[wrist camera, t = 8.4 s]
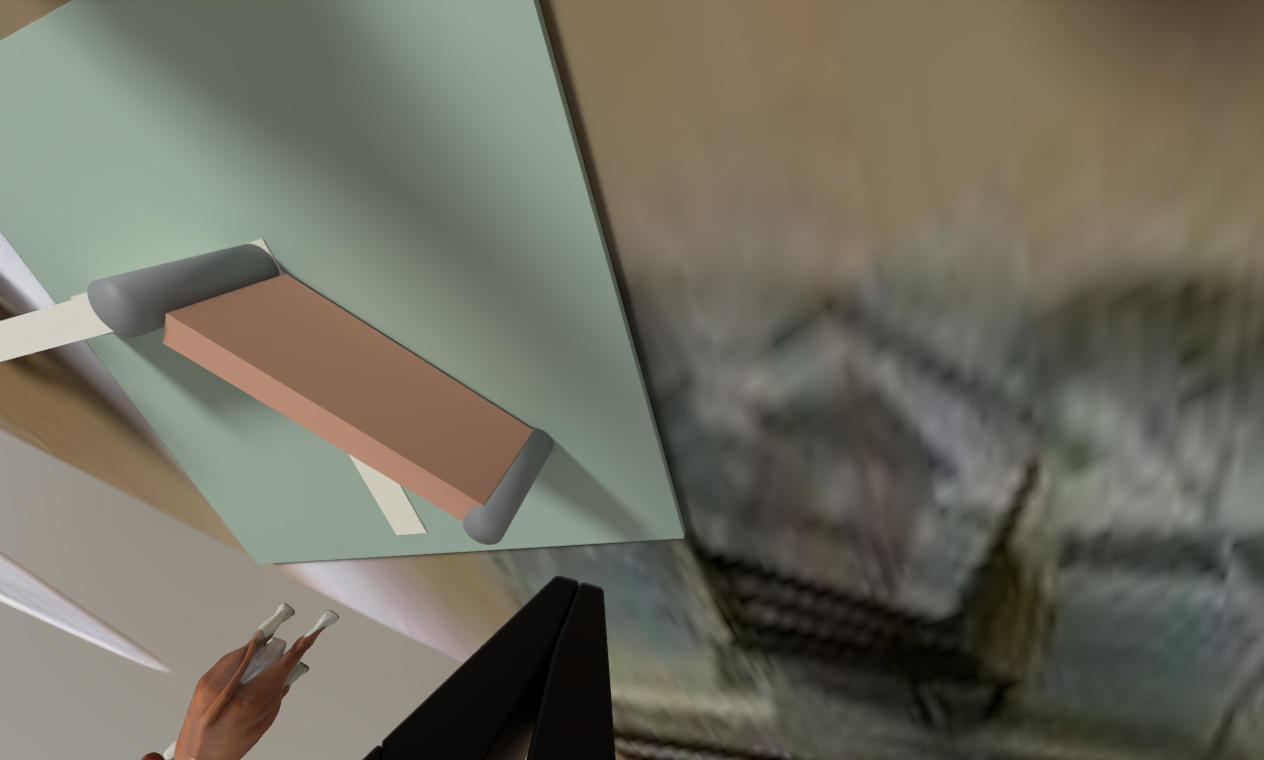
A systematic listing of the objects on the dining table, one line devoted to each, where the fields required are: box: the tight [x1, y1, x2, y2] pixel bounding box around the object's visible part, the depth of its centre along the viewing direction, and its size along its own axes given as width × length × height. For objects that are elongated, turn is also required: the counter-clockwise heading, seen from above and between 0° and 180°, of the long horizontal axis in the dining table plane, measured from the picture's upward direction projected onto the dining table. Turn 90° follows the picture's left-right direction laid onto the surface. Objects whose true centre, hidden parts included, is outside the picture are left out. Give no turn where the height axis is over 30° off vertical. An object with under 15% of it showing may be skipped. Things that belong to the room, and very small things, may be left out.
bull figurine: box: [141, 603, 339, 760], centre depth 29 cm, size 4×13×8 cm, turn 140°
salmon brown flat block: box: [163, 274, 553, 545], centre depth 18 cm, size 1×12×5 cm, turn 56°
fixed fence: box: [0, 244, 279, 363], centre depth 18 cm, size 2×11×5 cm, turn 104°
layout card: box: [0, 0, 685, 564], centre depth 20 cm, size 24×25×1 cm
